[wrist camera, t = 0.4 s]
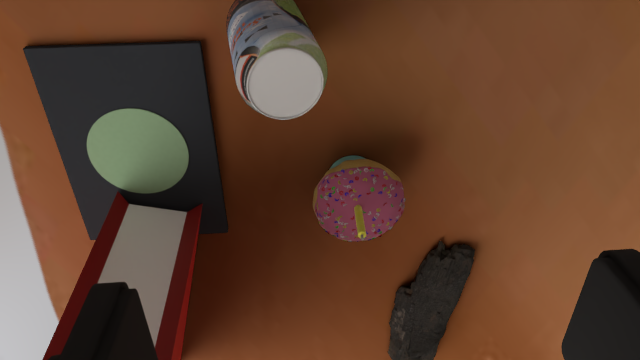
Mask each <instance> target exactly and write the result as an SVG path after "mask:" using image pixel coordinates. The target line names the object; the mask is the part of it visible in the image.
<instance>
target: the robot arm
mask: <svg viewBox="0 0 640 360" xmlns="http://www.w3.org/2000/svg"><path fill="white" fill-rule="evenodd" d="M562 354H563V357H564V359H565V360H640V252H638V251H637V250H634V249H623V250H608V251H603V252H602V253H600V255H599V257H598V258H596V259H594V260H593V262H592V264H591V266H590V269H589V272H588V274H587V277H586V280H585V282H584V285H583V288H582V290H581V293H580V296H579V299H578V301H577V304H576V307H575V309H574V312H573V315H572V317H571V320H570V323H569V325H568V328H567V331H566V333H565V336H564V339H563V342H562ZM48 360H158V357H157V354H156V350H155V347H154V344H153V340H152V337H151V334H150V330H149V327H148V324H147V320H146V317H145V314H144V310H143V307H142V304H141V301H140V297H139V294H138V291H137V290H136V289H135V288H133V289H129V287H128V285H127V283H126V282H112V283H96V284H94V285H92V287H91V289H90V290H89V293H88V295H87V297H86V299H85V302H84V304H83V306H82V308H81V310H80V313H79V315H78V317H77V319H76V322H75V324H74V326H73V328H72V330H71V333H70V335H69V337H68V339H67V342H66V344H65V346H64V348H63V350H62V353H61V354H59V355H54V356H51V357H50V358H49V359H48Z"/></svg>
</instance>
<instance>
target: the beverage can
mask: <svg viewBox="0 0 640 360" xmlns="http://www.w3.org/2000/svg"><path fill="white" fill-rule="evenodd" d="M226 27H227V35H228V40H229V46H230V52H231V57H232V63H233V68H234V74H235V79H236V84H237V88H238V91H239V93H240V95H241V97H242V98H243V99H244V101H245V102H246V103H247V104H248V105H249V106H250V107H251V108H252V109H254V110H256V111H257V112H259V113H261V114H263V115H265V116H267V117H270V118H274V119H280V120H286V119H292V118H296V117H299V116H301V115H303V114H305V113H306V112H308V111H309V110H310V109H311V108H313V106H314V105H315V104H316V103H317V101H318V100H319V98H320V96H321V94H322V92H323V90H324V87H325V85H326V80H327V63H326V59H325V57H324V54H323V52H322V50H321V48H320V47H319V45H318V43H317V41H316V39H315V38H314V36H313V34H312V32H311V30H310V29H309V27H308V25H307V23H306V21H305V20H304V18H303V16H302V14H301V12H300V10H299V9H298V7H297V5H296V4H295V2H294V1H293V0H235V2H234V3H233V5H232V6H231V8H230V10H229V12H228V16H227V23H226Z"/></svg>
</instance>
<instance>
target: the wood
mask: <svg viewBox="0 0 640 360" xmlns="http://www.w3.org/2000/svg"><path fill="white" fill-rule="evenodd" d="M474 253H475V249H473V248H472V247H470V246H469V245H465V244H463V245H457V244H455V245H454V246H453V247H452V249H451V250H445V244H444V245H443V243H442V241H439V245H438V248H437V249H435V250H431V252H429V254H428V255H427V258H426V259H424V260H423V262H422V263H421V265H420V267H419V270H418V272H417V275H416V278H415V282H412V284H411V287H405V286H401V287H400V288H399V290H398V291H397V292H396V298H395V301H394V303H395V306H394V309H393V311H392V316H391V320H390V322H389V325H390V328H391V337H390V346H389V351H388V354H389V355H390V357H391V358H392V360H433V359H434V357H435V355H436V352H437V347H438V344H439V341H440V339H441V338H442V337H443V335H444V333H445V330H446V325H447V322H448V320H449V318H450V316H451V314H452V312H453V310H454V308H455V307H456V305H457V302H458V301H459V298H460V296H461V293H462V290H463V288H464V285H465V283H466V280H467V278H468V276H469V274H470V271H471V268H472V264H473V261H474Z"/></svg>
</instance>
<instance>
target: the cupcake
mask: <svg viewBox="0 0 640 360" xmlns="http://www.w3.org/2000/svg"><path fill="white" fill-rule="evenodd" d="M404 199H405V198H404V192H403V186H402V183H401V180H400V178H399V177H398V176H397V175H396V174H394V173H393V172H392V171H391V170H389V169H388V168H386V167H385V166H383V165H382V164H380V163H378V162H375V161H372V160H368V159H365V158H363V157H361V156H346V157H343V158H341V159H339V160H337V161H336V162H335V163H334V164H333V165H332V166H331V167H330V169H329V170H328V171H327V172H326V173H325V175H324V176H323V178H322V179H321V180H320V182H319V183H318V185H317V186H316V188H315V190H314V196H313V209H314V212H315V215H316V216H317V218H318V220H319V221H318V223H319V224H320V226H321V227H322V228H324V230H326V231H325V232H329V233H330V234H332V235H333V236H335V237H337V238H339V239H341V240H343V241H349V242H352V241H357V242H358V241H366V240H371V239H374V238H376V237H377V236H378V237H381V235H382V234H383V233H385V232H387V231H388V230H390V229H391V228H392V226H393V225H394V224H395V223H396V222H397V221H398V219H399V218H400V217H401V215H402V214H403V211H404V206H405V205H404V202H405V200H406V199H405V200H404ZM329 233H328V234H329Z"/></svg>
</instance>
